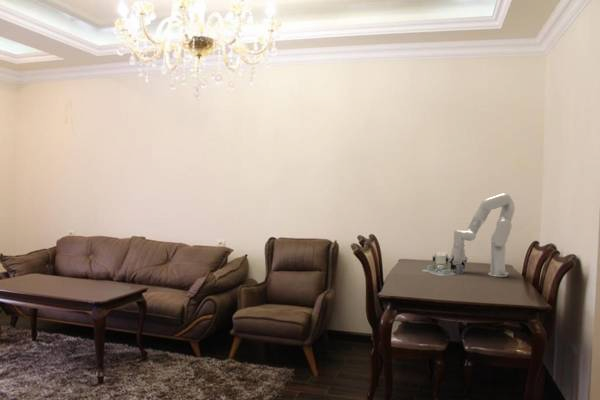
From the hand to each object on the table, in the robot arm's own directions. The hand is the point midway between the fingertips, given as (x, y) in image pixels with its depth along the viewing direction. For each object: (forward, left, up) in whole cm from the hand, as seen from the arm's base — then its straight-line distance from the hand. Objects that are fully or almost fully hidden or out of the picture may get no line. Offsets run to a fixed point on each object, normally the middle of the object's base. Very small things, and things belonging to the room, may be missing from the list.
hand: (457, 269), depth 344 cm
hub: (0, 0, -3) cm, 3 cm away
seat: (+4, +15, -3) cm, 15 cm away
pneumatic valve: (+18, +2, -3) cm, 18 cm away
